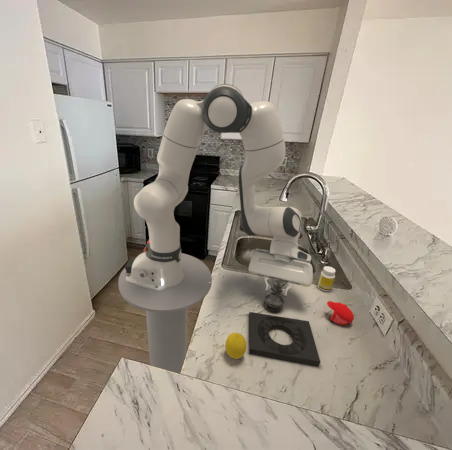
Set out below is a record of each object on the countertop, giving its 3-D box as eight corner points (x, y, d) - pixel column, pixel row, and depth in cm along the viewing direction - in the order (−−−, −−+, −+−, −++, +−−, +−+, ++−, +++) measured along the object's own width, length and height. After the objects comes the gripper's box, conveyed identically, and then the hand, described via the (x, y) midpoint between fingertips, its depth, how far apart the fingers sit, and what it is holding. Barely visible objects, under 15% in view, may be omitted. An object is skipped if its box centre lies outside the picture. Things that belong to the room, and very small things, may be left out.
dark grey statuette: (262, 310, 85) (268, 281, 80) (265, 299, 90) (270, 271, 85) (281, 315, 83) (287, 286, 78) (282, 303, 88) (288, 275, 83)
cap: (350, 316, 83) (355, 302, 81) (352, 330, 78) (358, 315, 76) (323, 309, 86) (327, 295, 83) (323, 321, 81) (328, 307, 78)
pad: (249, 353, 70) (250, 348, 70) (248, 316, 83) (249, 311, 82) (318, 366, 67) (320, 361, 66) (307, 325, 80) (309, 321, 79)
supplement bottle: (333, 291, 94) (339, 273, 90) (320, 291, 94) (326, 273, 90) (327, 283, 98) (332, 265, 95) (314, 283, 98) (320, 265, 95)
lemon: (240, 368, 66) (243, 347, 63) (220, 358, 69) (223, 337, 65) (247, 353, 71) (251, 332, 67) (229, 343, 73) (231, 323, 70)
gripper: (252, 244, 88) (243, 283, 84) (316, 257, 81) (310, 300, 77) (252, 249, 93) (244, 286, 89) (312, 261, 87) (307, 302, 83)
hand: (275, 293), depth 83 cm, fingers open, 4 cm apart
